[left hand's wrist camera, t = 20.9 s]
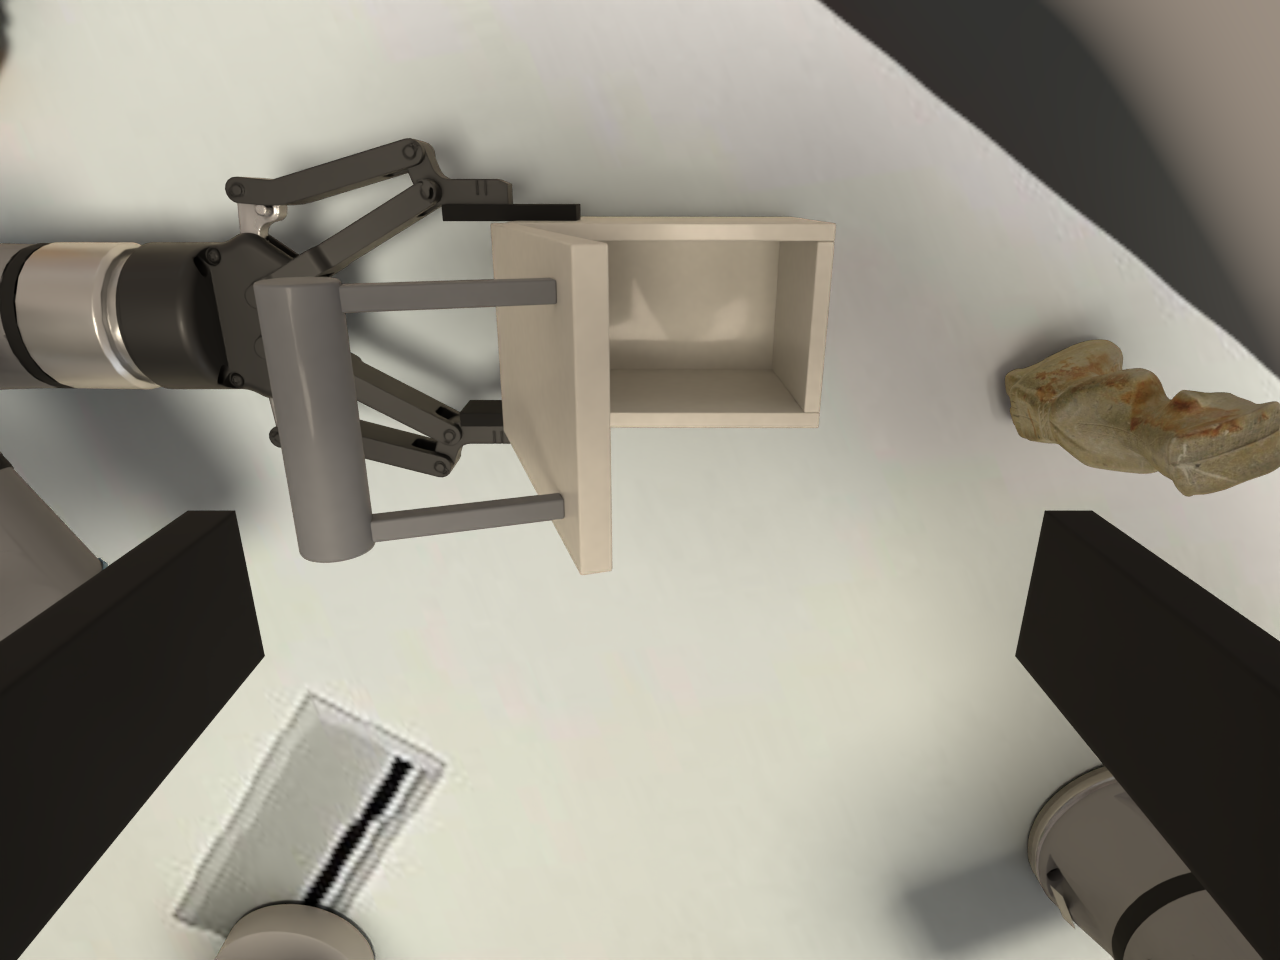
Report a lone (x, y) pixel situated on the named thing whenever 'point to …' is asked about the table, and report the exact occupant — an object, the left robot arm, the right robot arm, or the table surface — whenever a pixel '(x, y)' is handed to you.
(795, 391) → the chest
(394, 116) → the table surface
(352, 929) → the bust sculpture
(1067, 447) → the sculpture
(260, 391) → the right robot arm
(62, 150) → the table surface
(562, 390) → the lid
